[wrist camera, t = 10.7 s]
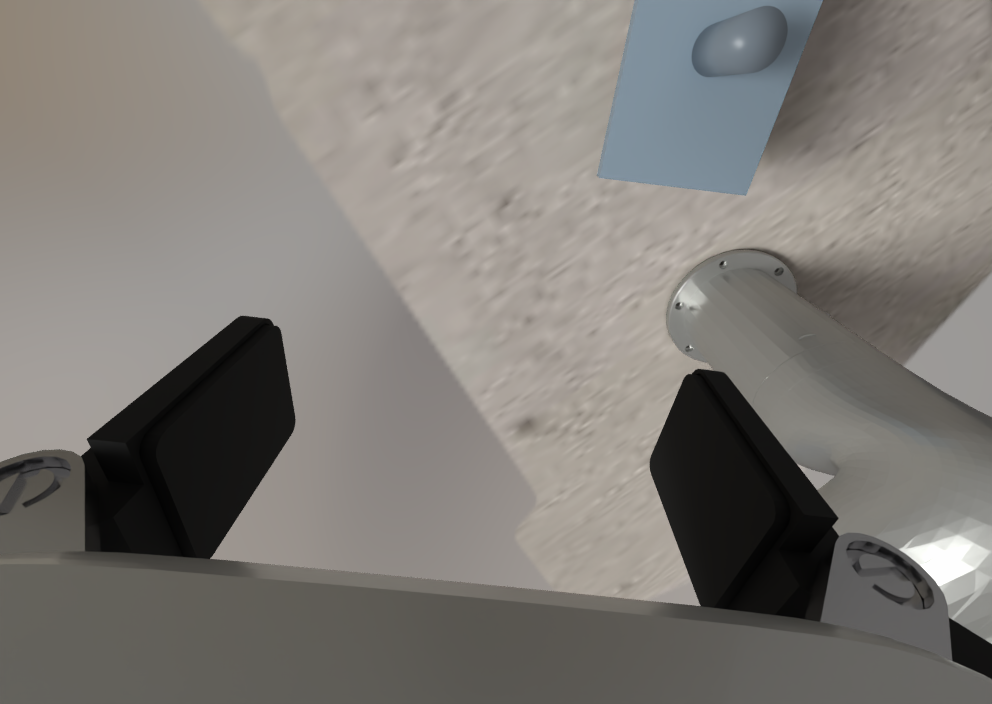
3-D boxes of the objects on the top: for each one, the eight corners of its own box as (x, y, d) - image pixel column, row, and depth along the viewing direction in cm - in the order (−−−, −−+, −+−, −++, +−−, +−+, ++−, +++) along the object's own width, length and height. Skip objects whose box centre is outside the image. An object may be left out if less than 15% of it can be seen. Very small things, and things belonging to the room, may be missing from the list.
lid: (857, -114, 22) (964, -180, 17) (739, 192, 29) (787, 212, 24) (665, -142, 21) (714, -218, 16) (596, 175, 29) (615, 192, 24)
